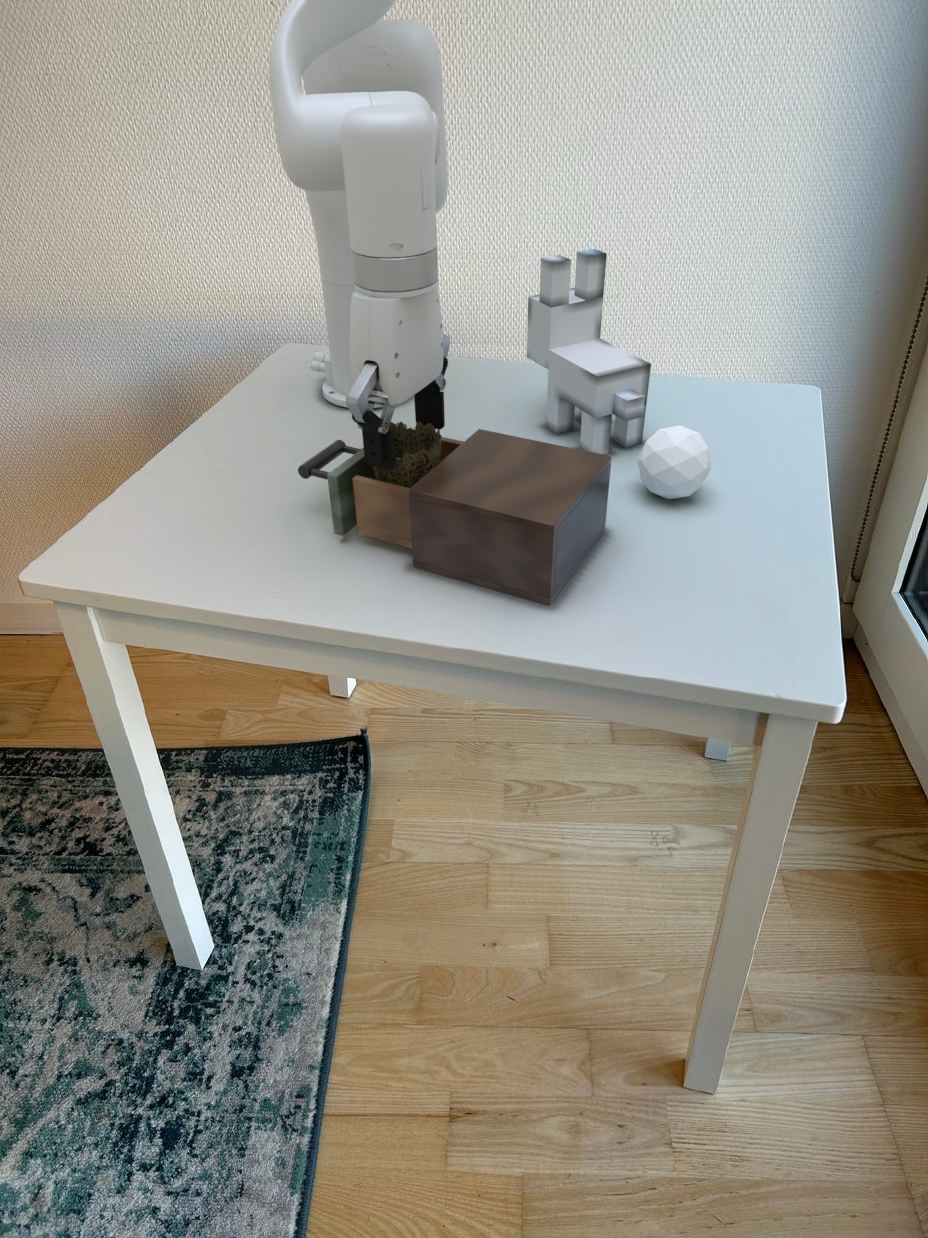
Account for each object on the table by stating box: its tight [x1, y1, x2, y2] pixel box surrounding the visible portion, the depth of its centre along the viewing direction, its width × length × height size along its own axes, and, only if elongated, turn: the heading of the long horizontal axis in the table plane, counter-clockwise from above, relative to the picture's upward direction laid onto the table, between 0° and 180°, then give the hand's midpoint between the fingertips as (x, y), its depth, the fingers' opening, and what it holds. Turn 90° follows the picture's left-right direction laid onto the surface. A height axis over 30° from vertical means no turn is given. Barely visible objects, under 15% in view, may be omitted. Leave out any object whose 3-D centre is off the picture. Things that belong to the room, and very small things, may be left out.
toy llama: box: [526, 248, 652, 455], centre depth 103 cm, size 8×18×20 cm, turn 29°
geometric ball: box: [636, 424, 713, 500], centre depth 93 cm, size 8×8×8 cm
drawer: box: [297, 422, 465, 549], centre depth 90 cm, size 20×13×7 cm
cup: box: [373, 421, 443, 488], centre depth 88 cm, size 8×7×8 cm
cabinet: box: [408, 428, 612, 606], centre depth 85 cm, size 15×15×9 cm
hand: (406, 445), depth 86 cm, fingers open, 9 cm apart
